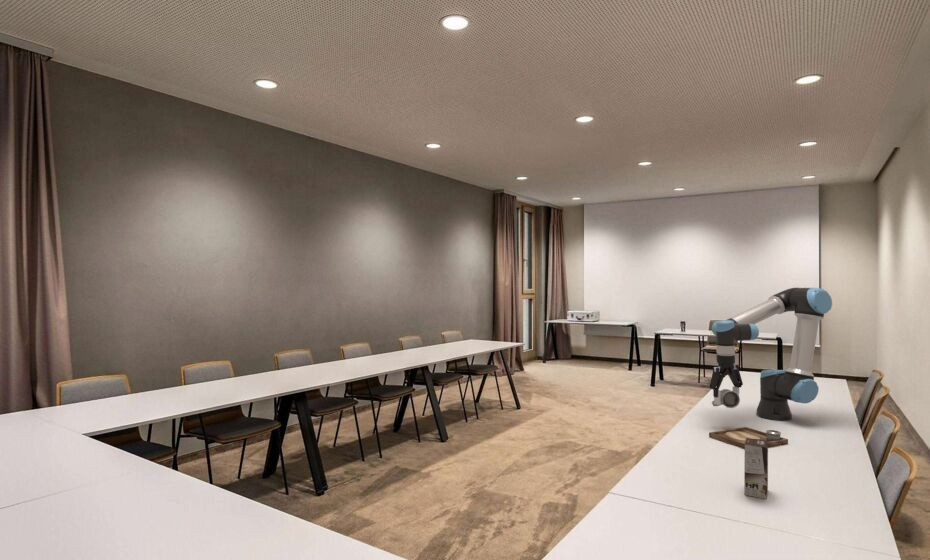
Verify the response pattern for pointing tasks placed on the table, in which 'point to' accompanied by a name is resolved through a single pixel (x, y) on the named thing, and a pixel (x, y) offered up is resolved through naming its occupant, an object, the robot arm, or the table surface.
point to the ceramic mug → (728, 398)
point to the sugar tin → (772, 435)
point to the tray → (743, 437)
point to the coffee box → (756, 468)
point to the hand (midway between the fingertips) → (726, 402)
